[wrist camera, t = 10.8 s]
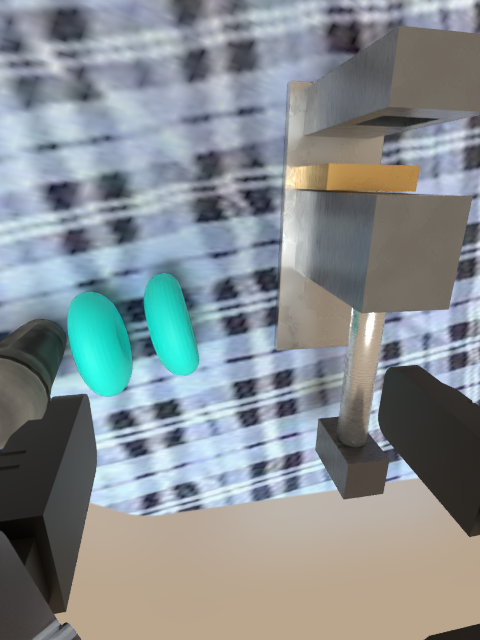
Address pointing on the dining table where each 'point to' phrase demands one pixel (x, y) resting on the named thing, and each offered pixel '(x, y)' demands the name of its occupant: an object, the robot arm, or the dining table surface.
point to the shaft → (356, 416)
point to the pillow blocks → (370, 206)
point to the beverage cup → (28, 373)
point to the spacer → (357, 177)
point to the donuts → (113, 342)
